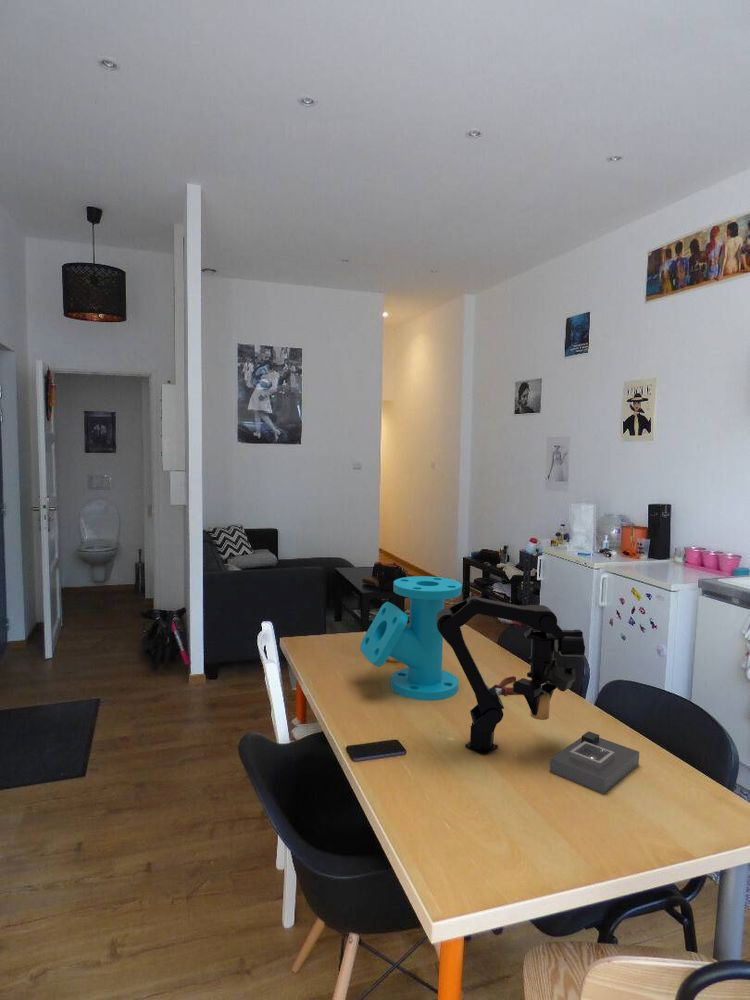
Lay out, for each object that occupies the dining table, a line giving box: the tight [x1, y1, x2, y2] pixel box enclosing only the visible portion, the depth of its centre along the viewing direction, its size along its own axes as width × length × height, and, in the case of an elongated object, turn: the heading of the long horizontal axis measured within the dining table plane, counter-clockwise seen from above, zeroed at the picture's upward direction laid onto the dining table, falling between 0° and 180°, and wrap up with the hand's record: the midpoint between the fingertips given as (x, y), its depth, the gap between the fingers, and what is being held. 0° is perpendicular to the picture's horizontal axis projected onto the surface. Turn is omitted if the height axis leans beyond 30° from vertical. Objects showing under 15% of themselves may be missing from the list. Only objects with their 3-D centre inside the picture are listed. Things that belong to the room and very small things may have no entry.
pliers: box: [493, 675, 521, 697], centre depth 207 cm, size 12×20×3 cm, turn 125°
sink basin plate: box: [549, 731, 640, 795], centre depth 158 cm, size 20×14×5 cm
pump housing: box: [529, 690, 551, 721], centre depth 167 cm, size 5×7×7 cm
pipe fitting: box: [359, 575, 463, 701], centre depth 207 cm, size 22×32×35 cm
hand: (539, 712), depth 167 cm, fingers closed on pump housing, 5 cm apart
